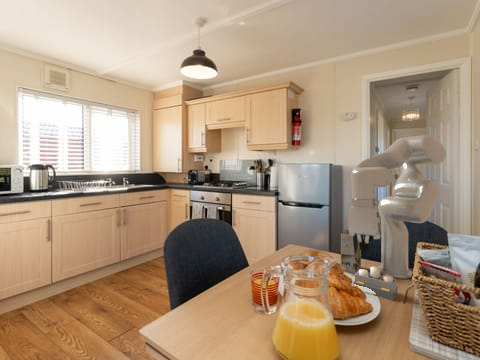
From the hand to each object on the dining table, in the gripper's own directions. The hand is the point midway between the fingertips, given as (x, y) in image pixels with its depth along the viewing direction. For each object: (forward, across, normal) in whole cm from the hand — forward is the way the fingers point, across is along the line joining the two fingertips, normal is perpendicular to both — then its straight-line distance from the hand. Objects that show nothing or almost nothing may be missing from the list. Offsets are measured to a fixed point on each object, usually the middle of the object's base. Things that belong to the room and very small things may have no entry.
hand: (364, 252), depth 94 cm
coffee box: (+13, +10, -14) cm, 22 cm away
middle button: (+8, -4, +1) cm, 9 cm away
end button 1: (+10, -8, +1) cm, 13 cm away
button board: (+13, -4, +2) cm, 13 cm away
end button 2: (+10, 0, +1) cm, 10 cm away
